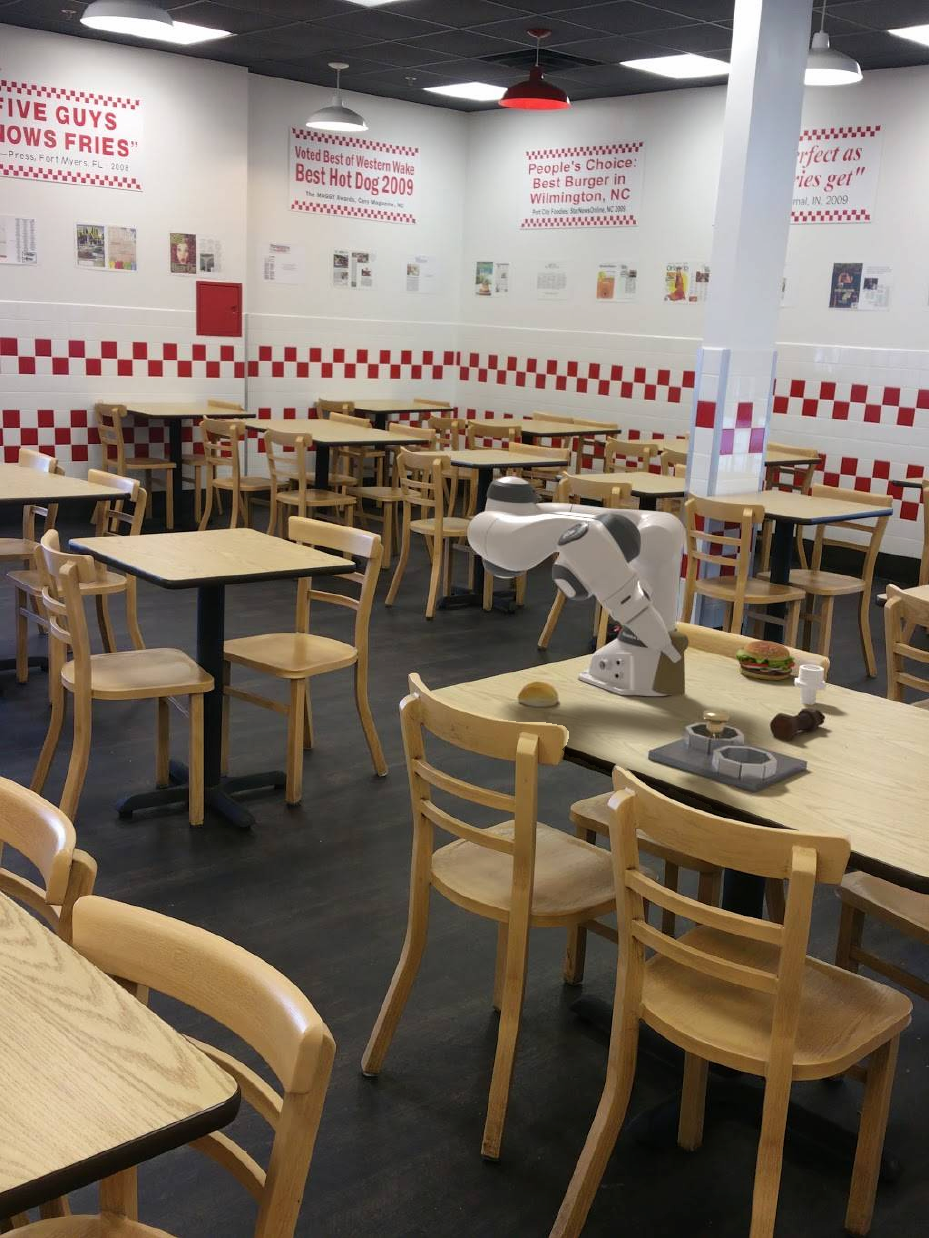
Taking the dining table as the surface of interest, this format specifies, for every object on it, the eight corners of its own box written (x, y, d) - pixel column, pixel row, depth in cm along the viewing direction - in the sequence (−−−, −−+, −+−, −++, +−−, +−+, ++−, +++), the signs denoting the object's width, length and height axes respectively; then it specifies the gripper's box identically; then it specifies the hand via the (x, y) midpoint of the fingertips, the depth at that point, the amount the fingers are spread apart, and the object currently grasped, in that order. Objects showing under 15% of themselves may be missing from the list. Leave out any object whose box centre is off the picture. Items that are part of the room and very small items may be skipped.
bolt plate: (647, 758, 219) (651, 719, 217) (702, 738, 233) (706, 701, 231) (754, 792, 204) (759, 751, 203) (806, 769, 218) (811, 730, 217)
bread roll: (514, 705, 248) (516, 687, 247) (523, 694, 256) (524, 676, 255) (553, 710, 246) (555, 692, 245) (560, 699, 255) (562, 681, 254)
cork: (663, 696, 214) (670, 636, 212) (645, 686, 219) (651, 628, 217) (691, 694, 217) (698, 635, 214) (672, 685, 222) (679, 627, 219)
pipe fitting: (830, 705, 261) (834, 670, 259) (802, 707, 258) (806, 671, 257) (812, 697, 267) (817, 663, 265) (785, 699, 264) (789, 664, 262)
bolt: (819, 735, 246) (782, 747, 235) (802, 718, 248) (764, 729, 237) (835, 715, 243) (799, 726, 232) (818, 698, 245) (780, 708, 235)
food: (747, 663, 295) (751, 632, 293) (801, 675, 286) (805, 643, 284) (721, 672, 284) (725, 640, 282) (776, 685, 276) (780, 652, 274)
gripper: (612, 597, 226) (658, 652, 227) (616, 621, 206) (667, 680, 207) (638, 576, 224) (684, 631, 226) (645, 598, 204) (696, 658, 206)
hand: (676, 655), depth 216 cm, fingers closed on cork, 5 cm apart
